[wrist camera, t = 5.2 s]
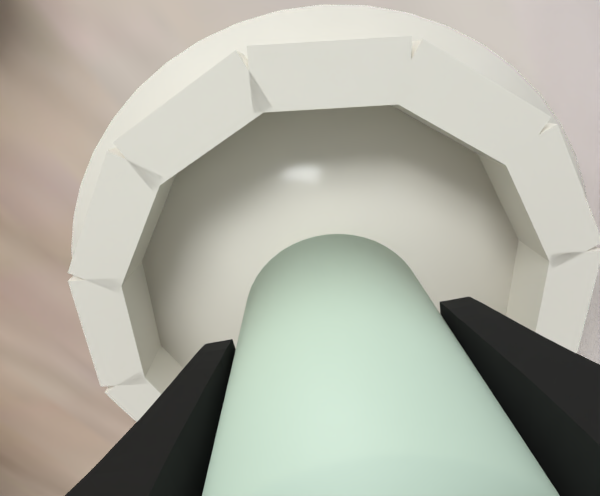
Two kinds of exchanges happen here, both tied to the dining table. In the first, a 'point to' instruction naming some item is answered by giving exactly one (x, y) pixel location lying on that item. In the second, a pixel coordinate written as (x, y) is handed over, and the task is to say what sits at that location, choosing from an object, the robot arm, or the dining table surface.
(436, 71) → the round bowl
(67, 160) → the dining table surface
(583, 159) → the dining table surface
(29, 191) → the dining table surface
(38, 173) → the dining table surface
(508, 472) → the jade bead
